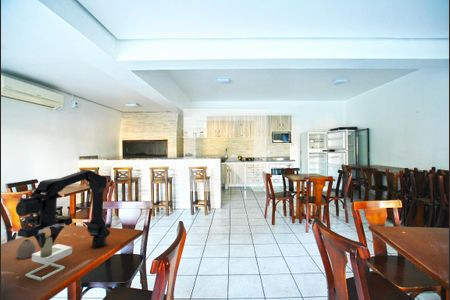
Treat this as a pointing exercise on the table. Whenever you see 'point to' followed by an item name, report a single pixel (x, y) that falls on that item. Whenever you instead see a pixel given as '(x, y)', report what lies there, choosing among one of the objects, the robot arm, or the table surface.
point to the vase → (26, 249)
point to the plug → (47, 247)
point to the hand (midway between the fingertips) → (46, 245)
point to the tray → (47, 274)
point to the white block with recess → (53, 254)
